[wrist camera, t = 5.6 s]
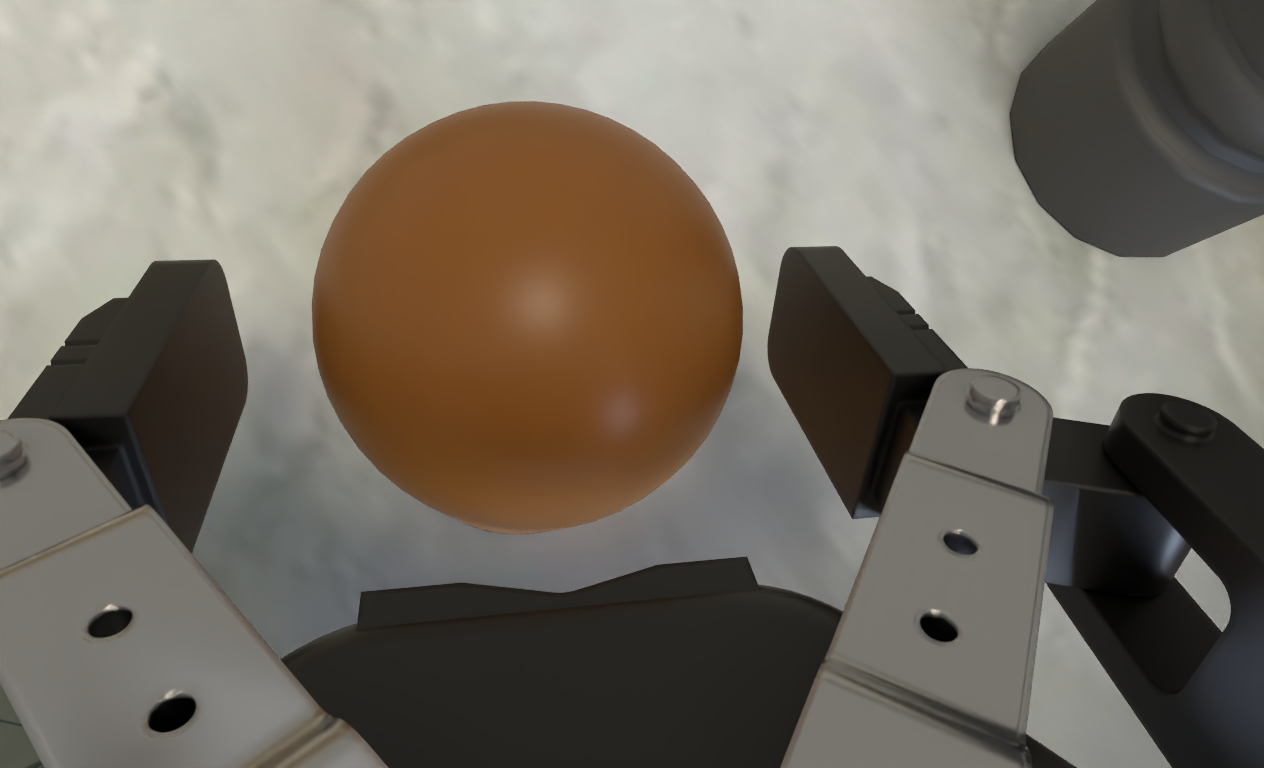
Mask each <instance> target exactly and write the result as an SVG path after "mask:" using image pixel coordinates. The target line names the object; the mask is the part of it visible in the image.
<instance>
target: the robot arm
mask: <svg viewBox="0 0 1264 768" xmlns="http://www.w3.org/2000/svg"><path fill="white" fill-rule="evenodd" d="M768 361H769V366H770V370H771V373H772V376H773V378H774V380H775V381H776V383H777V385H778V387H779V389H780V390H781V392H782V394H783V396H784V398H785V399H786V401H787V403H788V405H789V406H790V408H791V410H792V412H793V414H794V415H795V417H796V419H797V421H798V423H799V424H800V426H801V428H802V430H803V432H804V433H805V435H806V437H807V439H808V440H809V442H810V444H811V446H812V448H813V449H814V451H815V453H816V455H817V457H818V458H819V460H820V462H821V464H822V465H823V467H824V469H825V471H826V473H827V474H828V476H829V478H830V480H831V482H832V483H833V485H834V487H835V489H836V491H837V492H838V494H839V496H840V498H841V499H842V501H843V503H844V505H845V507H846V508H847V510H848V512H849V514H850V516H851V517H852V519H858V518H870V517H880V518H879V521H878V523H877V526H876V529H875V531H874V534H873V536H872V539H871V542H870V544H869V547H868V549H867V552H866V554H865V557H864V560H863V562H862V565H861V567H860V570H859V573H858V575H857V578H856V580H855V583H854V585H853V588H852V591H851V593H850V596H849V598H848V601H847V603H846V606H845V609H844V611H843V612H842V611H840V610H838V609H836V608H834V607H833V606H831V605H828V604H826V603H823V602H821V601H819V600H816V599H814V598H812V597H809V596H805V595H802V594H799V593H796V592H793V591H789V590H785V589H780V588H775V587H771V586H764V585H758V584H757V581H756V579H755V576H754V574H753V571H752V568H751V566H750V563H749V561H748V558H747V557H738V558H727V559H716V560H705V561H694V562H683V563H672V564H661V565H656V566H653V567H649V568H646V569H643V570H640V571H636V572H633V573H630V574H627V575H624V576H620V577H617V578H614V579H611V580H608V581H604V582H601V583H598V584H595V585H591V586H588V587H585V588H582V589H579V590H575V591H571V592H565V593H553V592H543V591H534V590H525V589H515V588H506V587H497V586H488V585H478V584H469V583H454V584H443V585H432V586H421V587H410V588H399V589H388V590H377V591H366V592H361V598H360V607H359V615H358V623H357V624H354V625H351V626H348V627H344V628H341V629H339V630H337V631H334V632H332V633H329V634H327V635H324V636H322V637H320V638H318V639H316V640H314V641H312V642H310V643H308V644H306V645H304V646H302V647H300V648H298V649H296V650H295V651H293V652H291V653H290V654H288V655H287V656H285V657H284V658H282V659H279V657H278V656H277V655H276V654H275V653H274V652H273V650H272V649H271V648H270V647H269V646H268V644H267V643H266V642H265V641H264V640H263V638H262V637H261V636H260V635H259V634H258V633H257V631H256V630H255V629H254V628H253V627H252V625H251V624H250V623H249V622H248V621H247V619H246V618H245V617H244V616H243V615H242V614H241V612H240V611H239V610H238V609H237V608H236V606H235V605H234V604H233V603H232V602H231V600H230V599H229V598H228V597H227V596H226V594H225V593H224V592H223V591H222V590H221V589H220V587H219V586H218V585H217V584H216V583H215V581H214V580H213V579H212V578H211V577H210V575H209V574H208V573H207V572H206V571H205V570H204V568H203V567H202V566H201V565H200V564H199V562H198V561H197V560H196V559H195V558H194V556H193V555H192V551H193V548H194V545H195V543H196V540H197V537H198V534H199V531H200V529H201V526H202V523H203V520H204V517H205V515H206V512H207V509H208V506H209V503H210V501H211V498H212V495H213V492H214V489H215V487H216V484H217V481H218V478H219V475H220V473H221V470H222V467H223V464H224V461H225V459H226V456H227V453H228V450H229V447H230V445H231V442H232V439H233V436H234V433H235V430H236V428H237V425H238V422H239V419H240V416H241V414H242V411H243V408H244V405H245V402H246V398H247V390H248V374H247V365H246V359H245V354H244V350H243V346H242V342H241V338H240V334H239V330H238V326H237V322H236V318H235V314H234V310H233V306H232V302H231V298H230V294H229V289H228V285H227V281H226V278H225V274H224V272H223V269H222V267H221V265H220V264H219V262H218V261H216V260H178V261H154V262H153V263H152V264H151V265H150V266H149V268H148V269H147V271H146V272H145V274H144V275H143V277H142V278H141V280H140V281H139V283H138V284H137V286H136V287H135V289H134V290H133V292H132V293H131V295H130V296H129V298H113V299H112V300H110V301H109V302H107V303H105V304H104V305H102V306H101V307H99V308H98V309H96V310H94V311H93V312H91V313H90V314H88V315H87V316H85V317H83V318H82V319H81V320H80V322H79V323H78V324H77V326H76V327H75V328H74V330H73V331H72V332H71V334H70V335H69V336H68V338H67V339H66V340H65V346H61V347H60V349H59V350H58V351H57V353H56V354H55V355H54V357H53V358H52V359H51V365H49V366H46V368H45V369H44V370H43V372H42V373H41V374H40V376H39V377H38V378H37V380H36V381H35V382H34V384H33V385H32V387H31V388H30V389H29V391H28V392H27V393H26V395H25V396H24V397H23V399H22V400H21V401H20V403H19V404H18V405H17V407H16V408H15V410H14V411H13V412H12V414H11V415H10V416H9V418H8V419H7V420H0V684H1V685H2V687H3V689H4V691H5V693H6V695H7V697H8V699H9V701H10V703H11V705H12V707H13V708H14V710H15V712H16V714H17V716H18V718H19V720H20V722H21V724H22V726H23V728H24V730H25V732H26V733H27V735H28V737H29V739H30V741H31V743H32V745H33V747H34V749H35V751H36V753H37V755H38V756H39V758H40V760H41V762H42V764H43V766H44V768H1076V767H1075V766H1073V765H1072V764H1070V763H1069V762H1067V761H1066V760H1064V759H1063V758H1061V757H1060V756H1058V755H1057V754H1055V753H1054V752H1053V751H1051V750H1050V749H1048V748H1047V747H1045V746H1044V745H1042V744H1041V743H1039V742H1038V741H1036V740H1035V739H1033V738H1032V737H1030V736H1029V735H1027V734H1026V727H1027V719H1028V711H1029V703H1030V695H1031V687H1032V679H1033V671H1034V663H1035V655H1036V647H1037V639H1038V631H1039V623H1040V615H1041V607H1042V599H1043V591H1044V583H1045V582H1046V584H1047V585H1048V587H1049V589H1050V590H1051V592H1052V593H1053V595H1054V596H1055V598H1056V599H1057V600H1058V602H1059V603H1060V605H1061V606H1062V608H1063V609H1064V611H1065V612H1066V614H1067V615H1068V617H1069V618H1070V619H1071V621H1072V622H1073V624H1074V625H1075V627H1076V628H1077V630H1078V631H1079V633H1080V634H1081V635H1082V637H1083V638H1084V640H1085V641H1086V643H1087V644H1088V646H1089V647H1090V649H1091V650H1092V652H1093V653H1094V654H1095V656H1096V657H1097V659H1098V660H1099V662H1100V663H1101V665H1102V666H1103V668H1104V669H1105V670H1106V672H1107V673H1108V675H1109V676H1110V678H1111V679H1112V681H1113V682H1114V684H1115V685H1116V687H1117V688H1118V689H1119V691H1120V692H1121V694H1122V695H1123V697H1124V698H1125V700H1126V701H1127V703H1128V704H1129V705H1130V707H1131V708H1132V710H1133V711H1134V713H1135V714H1136V716H1137V717H1138V719H1139V720H1140V722H1141V723H1142V724H1143V726H1144V727H1145V729H1146V730H1147V732H1148V733H1149V735H1150V736H1151V738H1152V739H1153V740H1154V742H1155V743H1156V745H1157V746H1158V748H1159V749H1160V751H1161V752H1162V754H1163V755H1164V757H1165V758H1166V759H1167V761H1168V762H1169V764H1170V765H1171V767H1172V768H1264V449H1263V448H1262V447H1261V446H1260V445H1258V444H1257V443H1256V442H1255V441H1254V440H1253V439H1251V438H1250V437H1249V436H1248V435H1247V434H1246V433H1244V432H1243V431H1242V430H1241V429H1240V428H1238V427H1237V426H1236V425H1235V424H1234V423H1232V422H1231V421H1230V420H1228V419H1227V418H1225V417H1224V416H1222V415H1220V414H1219V413H1217V412H1215V411H1213V410H1211V409H1209V408H1207V407H1205V406H1202V405H1200V404H1198V403H1195V402H1192V401H1189V400H1186V399H1182V398H1179V397H1175V396H1170V395H1164V394H1156V393H1144V394H1136V395H1132V396H1130V397H1127V398H1126V399H1125V400H1123V401H1122V403H1121V405H1120V407H1119V409H1118V411H1117V413H1116V415H1115V417H1114V419H1113V421H1112V423H1111V426H1108V425H1101V424H1094V423H1087V422H1080V421H1073V420H1066V419H1059V418H1054V417H1053V411H1052V408H1051V406H1050V404H1049V403H1048V401H1047V400H1046V399H1045V398H1044V397H1043V396H1042V395H1041V394H1040V393H1039V392H1038V391H1036V390H1035V389H1033V388H1032V387H1030V386H1029V385H1027V384H1025V383H1023V382H1022V381H1020V380H1017V379H1015V378H1013V377H1010V376H1007V375H1004V374H1001V373H998V372H994V371H989V370H983V369H972V368H967V366H966V365H965V364H964V363H963V362H962V361H961V360H960V359H959V358H958V357H957V356H956V354H955V353H954V352H953V351H952V350H951V349H950V348H949V347H948V346H947V345H946V344H945V342H944V341H943V340H942V339H941V338H940V337H939V336H938V335H937V334H936V333H935V332H934V330H933V329H929V325H928V324H927V323H926V322H925V321H924V320H923V318H922V317H921V316H920V315H919V314H915V310H914V309H913V308H912V307H911V305H910V304H909V303H908V302H907V301H906V300H905V299H904V298H903V297H902V296H901V295H900V293H899V292H897V291H895V290H894V289H892V288H890V287H888V286H887V285H885V284H883V283H881V282H880V281H878V280H876V279H874V278H873V277H866V276H865V275H864V274H863V273H862V272H861V271H860V269H859V268H858V267H857V266H856V265H855V264H854V263H853V261H852V260H851V259H850V258H849V257H848V256H847V255H846V254H845V252H844V251H843V250H842V249H841V248H840V247H838V246H825V247H790V248H788V249H787V250H786V252H785V254H784V256H783V259H782V262H781V267H780V273H779V278H778V284H777V290H776V296H775V301H774V307H773V313H772V318H771V324H770V330H769V336H768ZM1191 548H1192V549H1193V550H1194V551H1195V552H1196V553H1197V554H1198V555H1199V556H1200V557H1201V558H1202V559H1203V561H1204V562H1205V563H1206V564H1207V565H1208V566H1209V567H1210V568H1211V569H1212V570H1213V571H1214V573H1215V574H1216V575H1217V576H1218V577H1219V578H1220V580H1221V581H1222V582H1223V584H1224V586H1225V588H1226V590H1227V592H1228V595H1229V599H1230V604H1231V615H1230V620H1229V623H1228V625H1227V627H1226V628H1225V630H1224V631H1223V633H1222V632H1221V631H1220V629H1219V628H1218V627H1217V626H1216V625H1215V624H1214V623H1213V621H1212V620H1211V619H1210V618H1209V617H1208V616H1207V614H1206V613H1205V612H1204V611H1203V610H1202V609H1201V607H1200V606H1199V605H1198V604H1197V603H1196V602H1195V600H1194V599H1193V598H1192V597H1191V596H1190V595H1189V593H1188V592H1187V591H1186V590H1185V589H1184V588H1183V586H1182V585H1181V584H1180V583H1179V582H1178V581H1177V579H1176V578H1175V577H1174V575H1175V574H1176V572H1177V570H1178V569H1179V567H1180V566H1181V564H1182V562H1183V561H1184V559H1185V557H1186V556H1187V554H1188V553H1189V551H1190V549H1191Z"/></svg>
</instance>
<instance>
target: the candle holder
mask: <svg viewBox="0 0 1264 768" xmlns="http://www.w3.org/2000/svg"><path fill="white" fill-rule="evenodd" d="M1010 117H1011V124H1012V132H1013V139H1014V147H1015V154H1016V160H1017V162H1018V164H1019V166H1020V168H1021V170H1022V172H1023V173H1024V175H1025V177H1026V179H1027V181H1028V183H1029V185H1030V187H1031V189H1032V190H1033V192H1034V194H1035V196H1036V198H1037V200H1038V202H1039V204H1041V205H1042V206H1043V207H1044V208H1045V209H1046V210H1047V211H1048V212H1049V213H1050V214H1051V215H1052V216H1053V217H1054V218H1056V219H1057V220H1058V221H1059V222H1060V223H1061V224H1062V225H1063V226H1064V227H1065V228H1066V229H1067V230H1068V231H1070V232H1071V233H1072V234H1073V235H1074V236H1075V237H1076V238H1078V239H1081V240H1083V241H1085V242H1088V243H1090V244H1092V245H1095V246H1097V247H1099V248H1102V249H1104V250H1106V251H1109V252H1111V253H1113V254H1116V255H1118V256H1146V257H1164V256H1166V255H1169V254H1171V253H1173V252H1176V251H1178V250H1181V249H1183V248H1185V247H1188V246H1190V245H1192V244H1195V243H1197V242H1199V241H1202V240H1204V239H1207V238H1209V237H1211V236H1214V235H1216V234H1218V233H1221V232H1223V231H1225V230H1228V229H1230V228H1233V227H1235V226H1237V225H1240V224H1242V223H1244V222H1247V221H1249V220H1252V219H1254V218H1256V217H1259V216H1261V215H1263V214H1264V0H1096V1H1095V2H1094V3H1093V4H1092V5H1091V6H1090V7H1089V8H1087V9H1086V10H1085V11H1084V12H1083V13H1082V14H1081V15H1080V16H1079V17H1077V18H1076V19H1075V20H1074V21H1073V22H1072V23H1071V24H1070V25H1069V26H1067V27H1066V28H1065V29H1064V30H1063V31H1062V32H1061V33H1060V34H1059V35H1057V36H1056V37H1055V38H1054V39H1053V40H1052V41H1051V42H1050V43H1049V44H1048V45H1047V46H1046V47H1045V48H1044V49H1043V50H1042V51H1041V52H1040V53H1039V55H1038V56H1037V57H1036V58H1035V59H1034V60H1033V61H1032V62H1031V63H1030V64H1029V66H1028V67H1027V68H1026V69H1025V70H1024V71H1023V72H1022V73H1021V77H1020V80H1019V84H1018V88H1017V91H1016V95H1015V98H1014V102H1013V106H1012V109H1011V113H1010Z"/></svg>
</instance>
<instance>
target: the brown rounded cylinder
mask: <svg viewBox="0 0 1264 768" xmlns="http://www.w3.org/2000/svg"><path fill="white" fill-rule="evenodd" d="M312 323H313V342H314V347H315V353H316V358H317V364H318V369H319V372H320V375H321V378H322V381H323V384H324V387H325V390H326V393H327V396H328V398H329V400H330V402H331V404H332V406H333V408H334V410H335V412H336V414H337V416H338V418H339V420H340V422H341V423H342V425H343V426H344V428H345V429H346V431H347V432H348V434H349V435H350V436H351V438H352V439H353V441H354V442H355V444H356V445H357V447H358V448H359V449H360V450H361V452H362V453H363V454H364V455H365V456H366V457H367V458H368V459H369V460H370V461H371V463H372V464H373V465H374V466H375V467H376V468H377V469H378V470H379V471H380V472H381V473H382V474H383V475H385V476H386V477H387V478H388V479H389V480H391V481H392V482H393V483H394V484H395V485H396V486H398V487H399V488H400V489H401V490H403V491H404V492H406V493H408V494H409V495H411V496H412V497H414V498H416V499H417V500H419V501H420V502H422V503H423V504H425V505H427V506H429V507H431V508H433V509H436V510H438V511H440V512H442V513H444V514H446V515H449V516H451V517H453V518H455V519H457V520H460V521H462V522H464V523H466V524H468V525H471V526H473V527H477V528H480V529H483V530H487V531H492V532H498V533H504V534H528V533H538V532H544V531H551V530H557V529H563V528H568V527H572V526H577V525H581V524H585V523H589V522H593V521H596V520H598V519H601V518H604V517H606V516H609V515H611V514H614V513H617V512H619V511H621V510H623V509H625V508H626V507H628V506H630V505H632V504H634V503H636V502H637V501H639V500H641V499H643V498H644V497H646V496H647V495H648V494H650V493H651V492H652V491H654V490H655V489H657V488H658V487H659V486H661V485H662V484H663V483H665V482H666V481H667V480H669V479H670V478H671V477H672V476H673V475H674V474H675V473H676V472H677V471H678V470H679V469H680V468H681V467H682V466H683V465H684V464H685V463H686V462H687V461H688V460H689V459H690V458H691V457H692V456H693V454H694V453H695V452H696V451H697V449H698V448H699V447H700V445H701V444H702V443H703V442H704V440H705V439H706V438H707V436H708V434H709V432H710V431H711V429H712V427H713V426H714V424H715V422H716V421H717V419H718V417H719V416H720V413H721V411H722V408H723V406H724V404H725V401H726V399H727V397H728V394H729V392H730V389H731V386H732V383H733V380H734V376H735V372H736V369H737V365H738V361H739V356H740V349H741V341H742V334H743V306H742V298H741V291H740V283H739V276H738V271H737V268H736V264H735V260H734V256H733V252H732V249H731V246H730V244H729V241H728V239H727V237H726V234H725V232H724V229H723V227H722V225H721V223H720V221H719V219H718V217H717V216H716V214H715V212H714V210H713V208H712V207H711V205H710V203H709V202H708V200H707V199H706V198H705V196H704V195H703V193H702V192H701V191H700V189H699V188H698V187H697V185H696V184H695V183H694V181H693V180H692V179H691V178H690V177H689V176H688V175H687V174H686V173H685V172H684V171H683V170H682V168H681V167H680V166H679V165H678V164H677V163H676V162H675V161H674V160H673V159H672V158H671V157H669V156H668V155H667V154H666V153H665V152H663V151H662V150H661V149H660V148H659V147H657V146H656V145H655V144H654V143H652V142H651V141H649V140H648V139H646V138H645V137H643V136H642V135H640V134H638V133H637V132H635V131H634V130H632V129H630V128H628V127H626V126H624V125H622V124H620V123H618V122H616V121H614V120H612V119H610V118H607V117H604V116H602V115H599V114H596V113H593V112H590V111H588V110H584V109H580V108H575V107H571V106H566V105H562V104H554V103H545V102H505V103H497V104H490V105H483V106H479V107H476V108H472V109H468V110H464V111H460V112H457V113H455V114H452V115H450V116H447V117H445V118H442V119H440V120H438V121H435V122H433V123H431V124H429V125H427V126H425V127H424V128H422V129H420V130H418V131H417V132H415V133H413V134H411V135H409V136H408V137H406V138H405V139H403V140H402V141H401V142H399V143H398V144H397V145H395V146H394V147H393V148H391V149H390V150H389V151H387V152H386V153H385V154H384V155H383V156H382V157H381V158H380V159H379V160H377V161H376V162H375V163H374V164H373V165H372V166H371V167H370V168H369V169H368V170H367V171H366V172H365V174H364V175H363V176H362V177H361V179H360V180H359V181H358V183H357V184H356V185H355V186H354V188H353V189H352V190H351V192H350V193H349V194H348V196H347V198H346V200H345V201H344V203H343V205H342V206H341V208H340V210H339V212H338V213H337V215H336V217H335V219H334V221H333V223H332V225H331V227H330V230H329V232H328V234H327V237H326V239H325V242H324V244H323V247H322V249H321V253H320V257H319V261H318V265H317V269H316V273H315V278H314V288H313V297H312Z"/></svg>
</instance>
